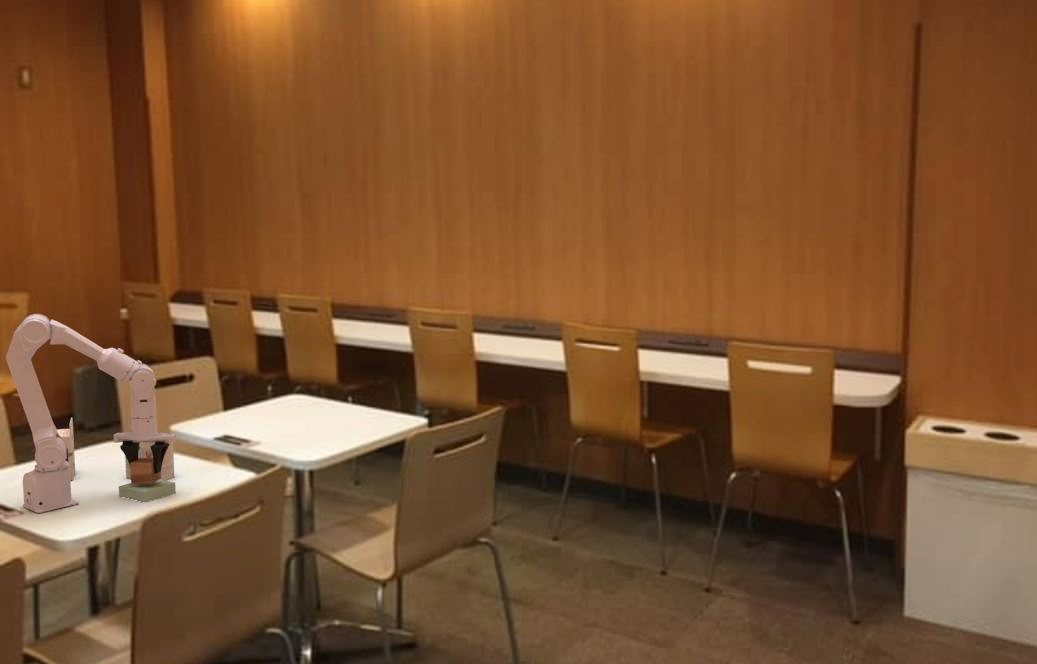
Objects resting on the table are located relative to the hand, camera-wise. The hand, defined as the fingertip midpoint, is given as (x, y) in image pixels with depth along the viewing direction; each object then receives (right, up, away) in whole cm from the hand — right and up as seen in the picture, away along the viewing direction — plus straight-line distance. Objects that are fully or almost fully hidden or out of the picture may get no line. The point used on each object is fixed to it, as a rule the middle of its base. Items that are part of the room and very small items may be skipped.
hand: (146, 472), depth 227 cm
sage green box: (0, -6, +1) cm, 6 cm away
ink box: (-27, -4, +15) cm, 31 cm away
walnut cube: (0, -2, 0) cm, 2 cm away
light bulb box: (-5, -4, +15) cm, 16 cm away
